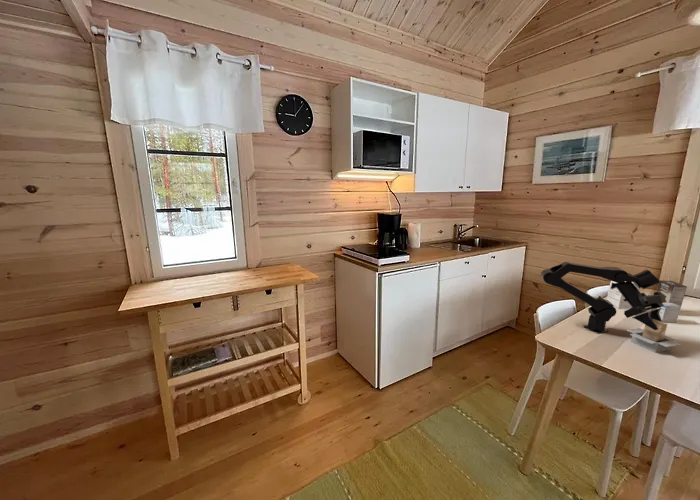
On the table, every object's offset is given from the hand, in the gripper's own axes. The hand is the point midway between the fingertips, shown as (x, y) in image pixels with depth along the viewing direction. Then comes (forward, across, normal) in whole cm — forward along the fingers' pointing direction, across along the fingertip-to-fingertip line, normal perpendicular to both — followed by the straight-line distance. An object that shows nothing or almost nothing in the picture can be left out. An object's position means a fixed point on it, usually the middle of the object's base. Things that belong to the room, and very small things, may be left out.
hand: (659, 328), depth 118 cm
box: (+4, 0, +6) cm, 7 cm away
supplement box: (-15, +42, +27) cm, 52 cm away
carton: (+5, 0, +7) cm, 8 cm away
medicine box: (-2, +39, +14) cm, 42 cm away
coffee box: (-5, +55, +18) cm, 58 cm away
